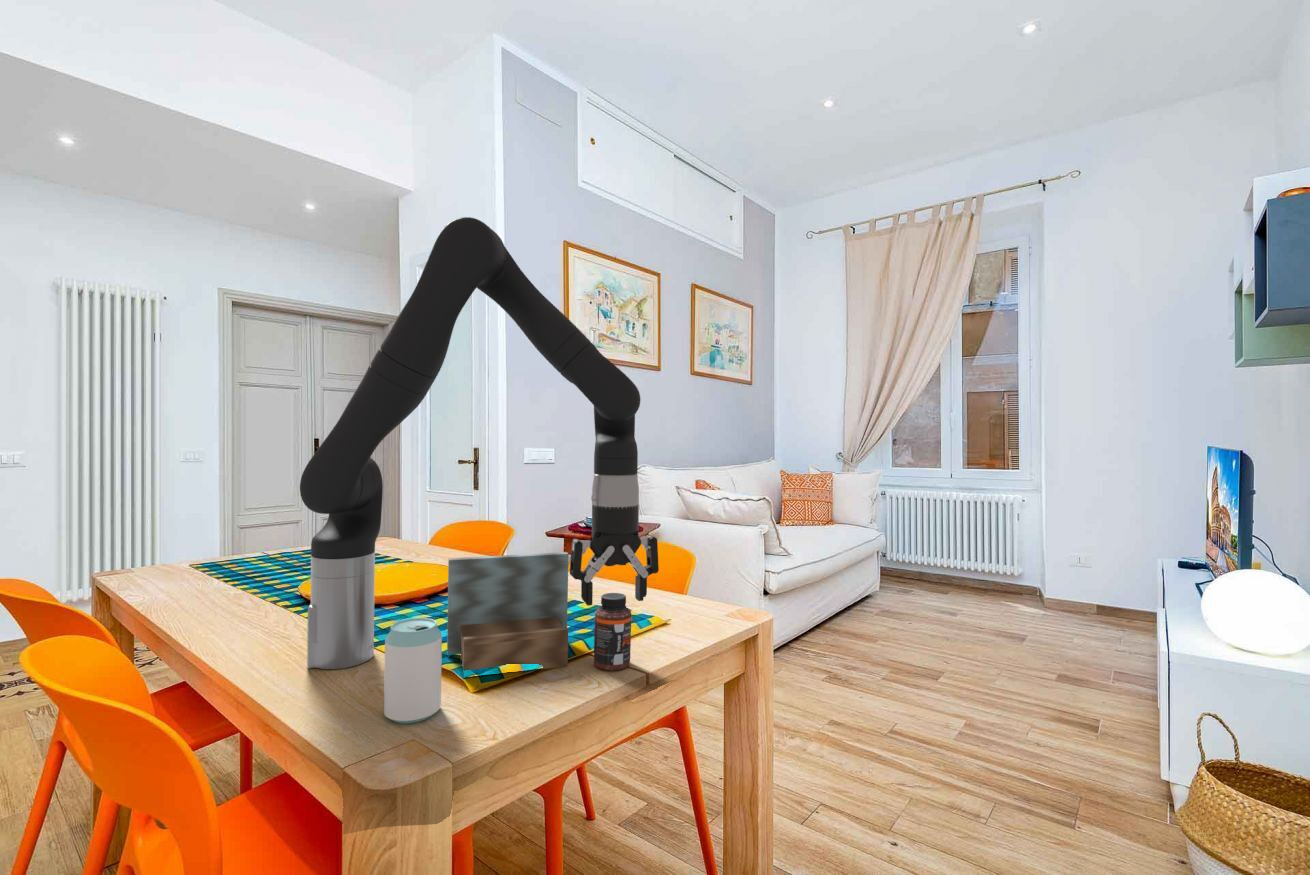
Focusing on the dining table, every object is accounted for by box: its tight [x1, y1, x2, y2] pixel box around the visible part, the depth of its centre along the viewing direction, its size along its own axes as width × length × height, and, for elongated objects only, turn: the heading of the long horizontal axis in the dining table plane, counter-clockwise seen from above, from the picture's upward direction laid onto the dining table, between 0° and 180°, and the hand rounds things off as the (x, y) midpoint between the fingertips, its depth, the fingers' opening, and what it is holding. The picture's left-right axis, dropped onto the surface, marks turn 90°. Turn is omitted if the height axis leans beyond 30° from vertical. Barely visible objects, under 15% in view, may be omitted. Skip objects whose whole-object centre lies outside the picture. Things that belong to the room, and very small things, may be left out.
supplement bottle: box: [593, 592, 632, 671], centre depth 101 cm, size 6×6×11 cm
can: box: [383, 617, 443, 724], centre depth 83 cm, size 7×7×12 cm
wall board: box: [446, 551, 569, 671], centre depth 102 cm, size 20×11×16 cm, turn 110°
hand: (614, 601), depth 100 cm, fingers open, 8 cm apart
